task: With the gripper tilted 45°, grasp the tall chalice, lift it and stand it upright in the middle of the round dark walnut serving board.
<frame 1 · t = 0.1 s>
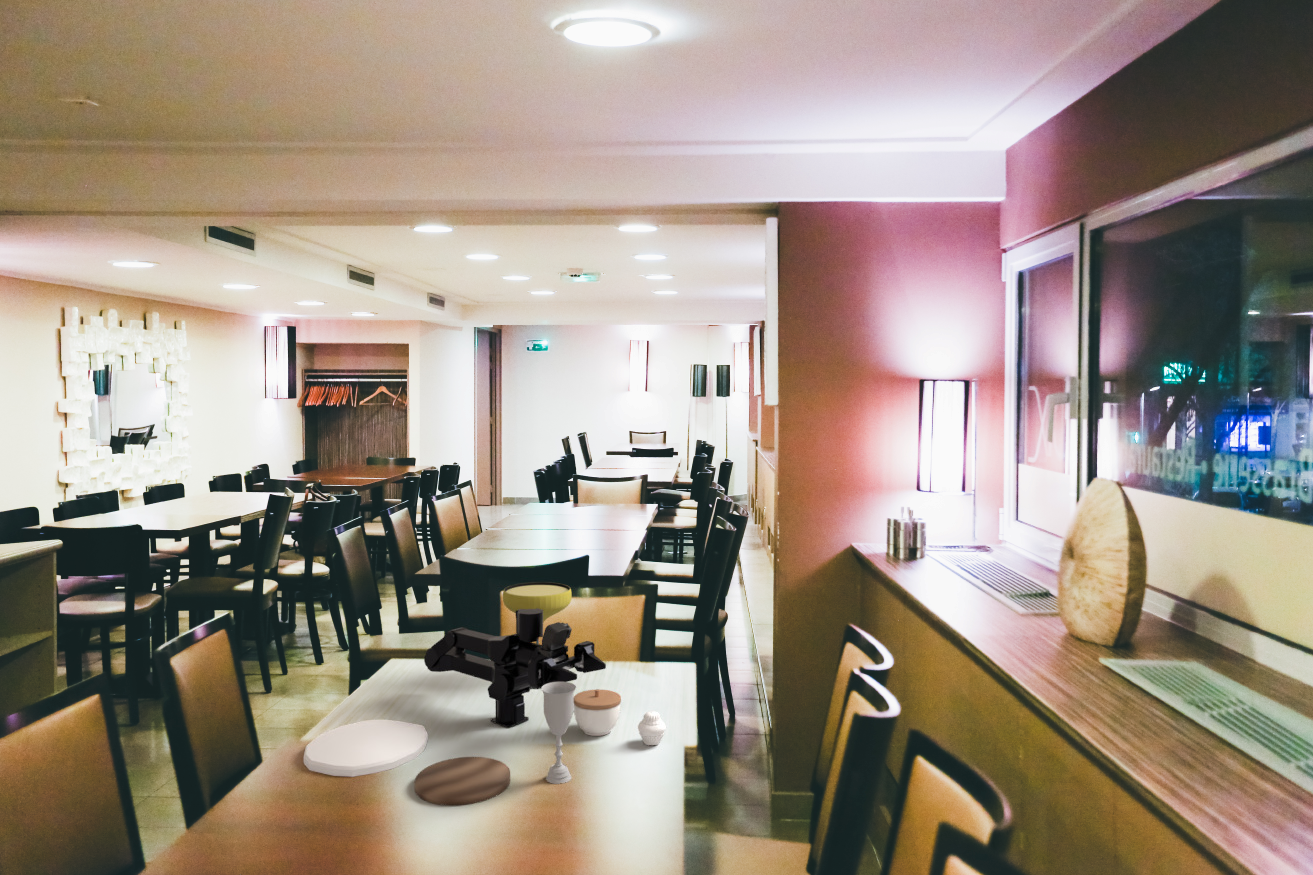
hand: (591, 671, 179), 17 cm above the table, tool horizontal, fingers open, 9 cm apart
chalice: (558, 778, 165), on the table
muffin: (651, 743, 182), on the table
lidded jar: (597, 731, 189), on the table
serving board: (463, 783, 162), on the table
decorative plate: (365, 752, 178), on the table
cocktail glass: (537, 682, 223), on the table
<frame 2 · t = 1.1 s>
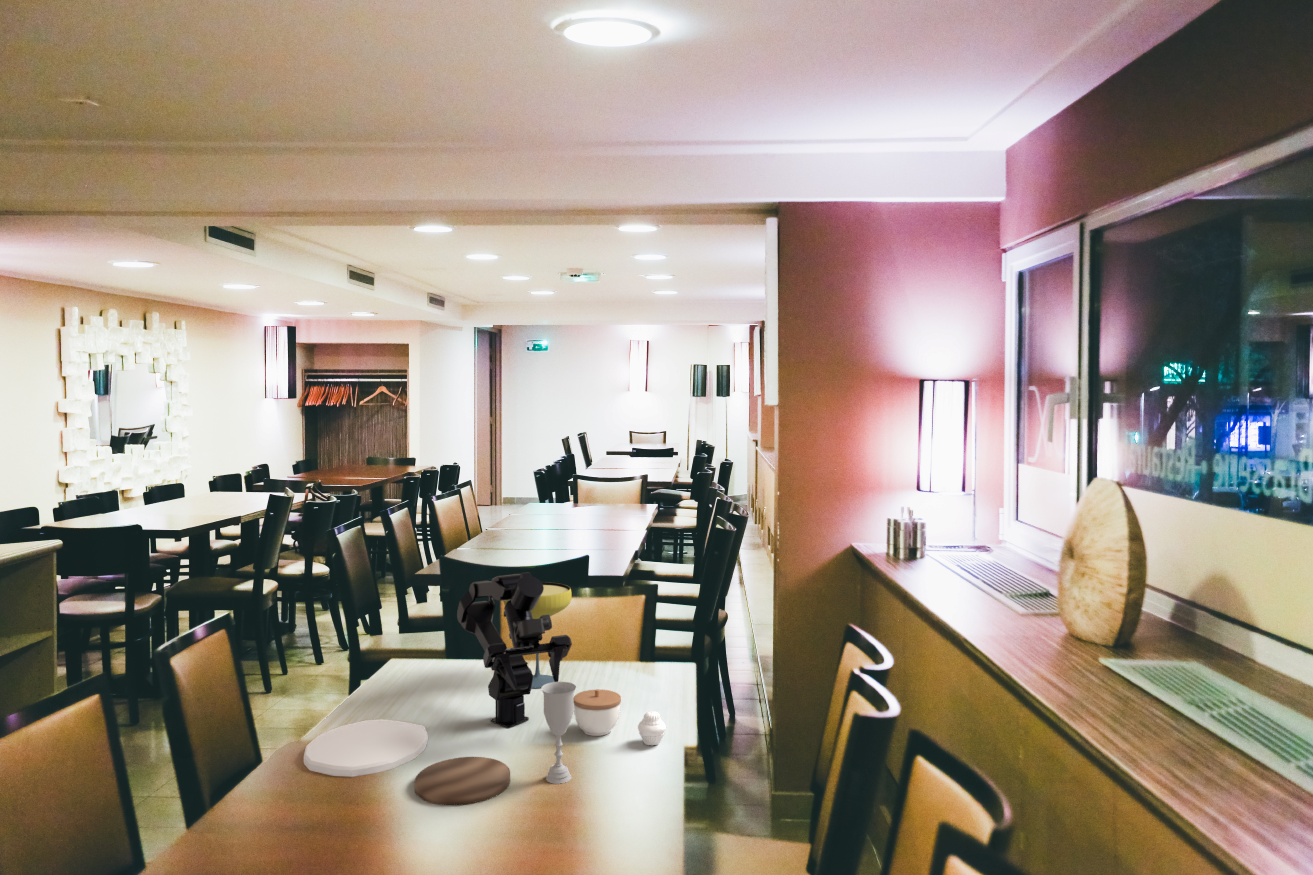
hand: (536, 685, 178), 14 cm above the table, tool tilted 45°, fingers open, 9 cm apart
nothing on the table moved.
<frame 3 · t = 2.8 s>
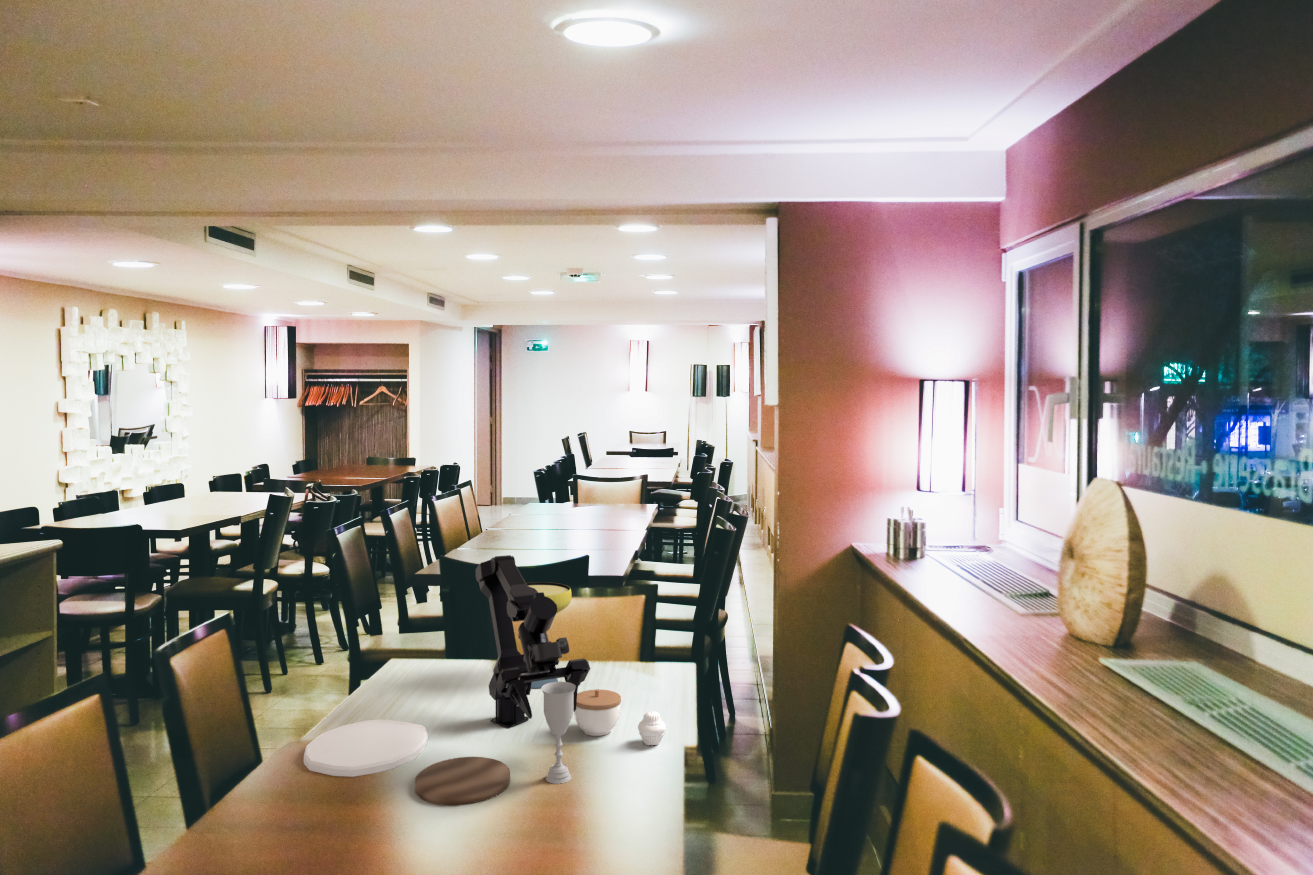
hand: (553, 713, 167), 12 cm above the table, tool tilted 45°, fingers open, 9 cm apart
nothing on the table moved.
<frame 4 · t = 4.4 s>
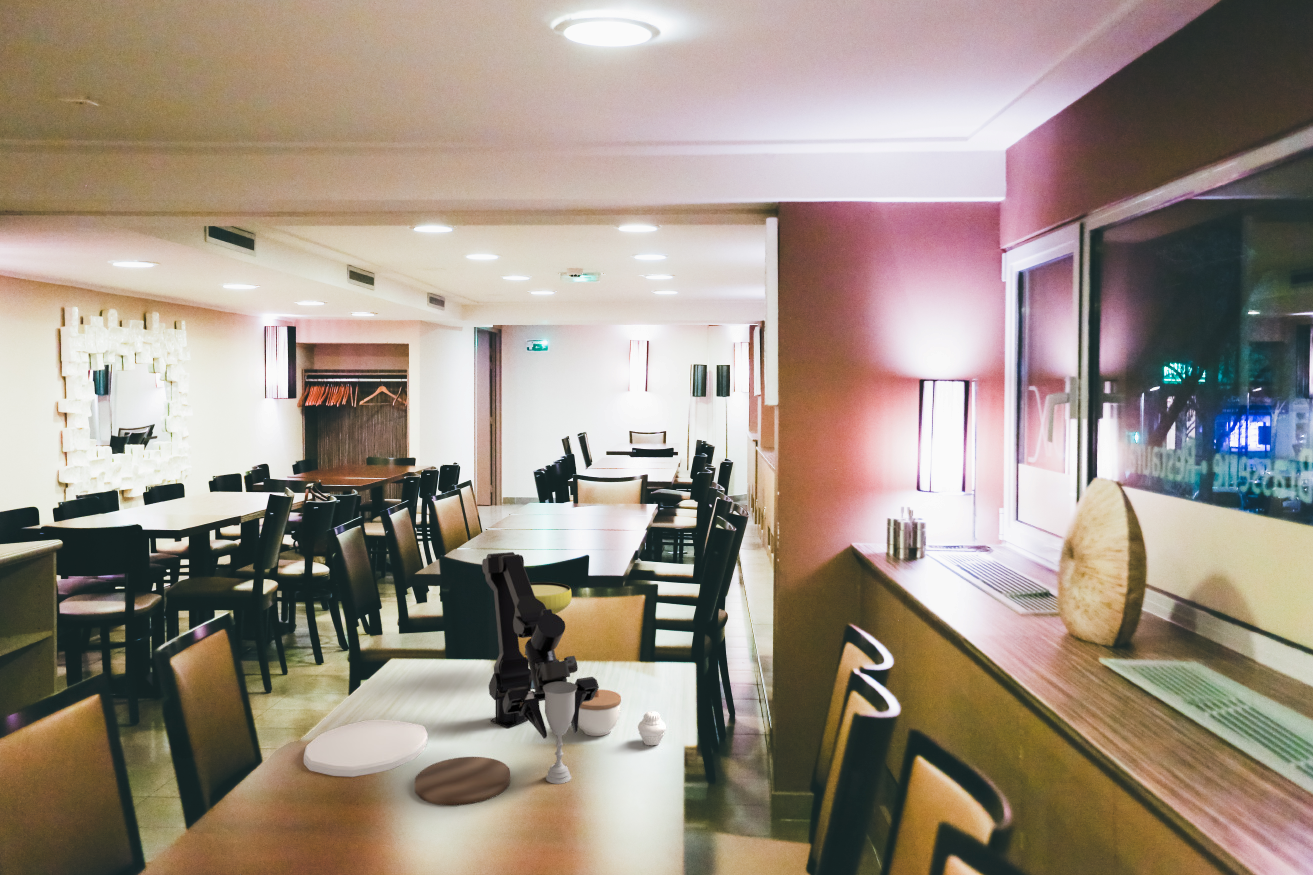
hand: (561, 734, 163), 9 cm above the table, tool tilted 45°, fingers closed on chalice, 6 cm apart
chalice: (558, 778, 165), on the table, touching gripper
everything else where it was.
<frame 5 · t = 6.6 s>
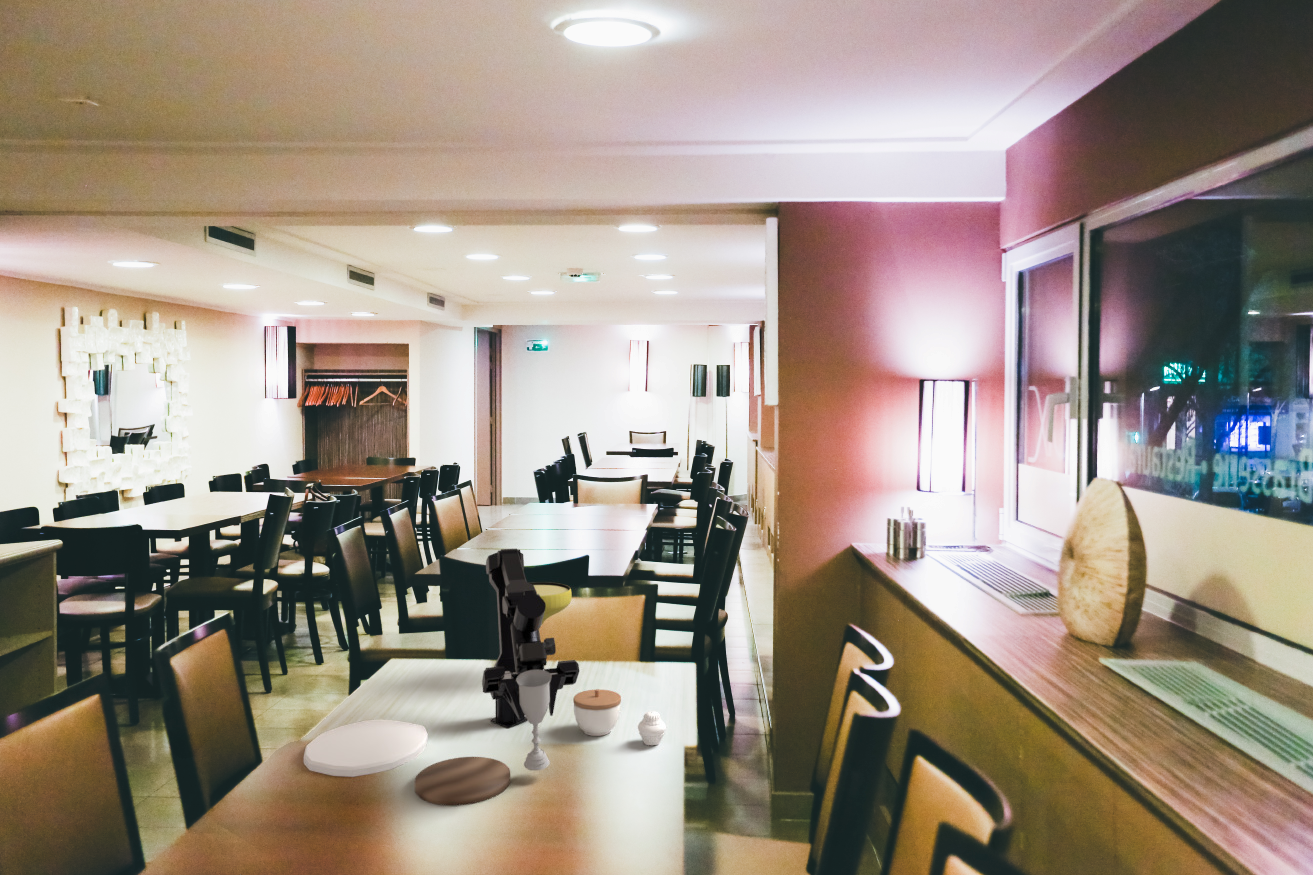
hand: (536, 716, 161), 13 cm above the table, tool tilted 45°, fingers closed on chalice, 6 cm apart
chalice: (536, 764, 165), point 3 cm above the table, touching gripper
everything else where it was.
when the fingers open (12 cm above the table, at t = 9.1 s): chalice stays where it is, resting on serving board.
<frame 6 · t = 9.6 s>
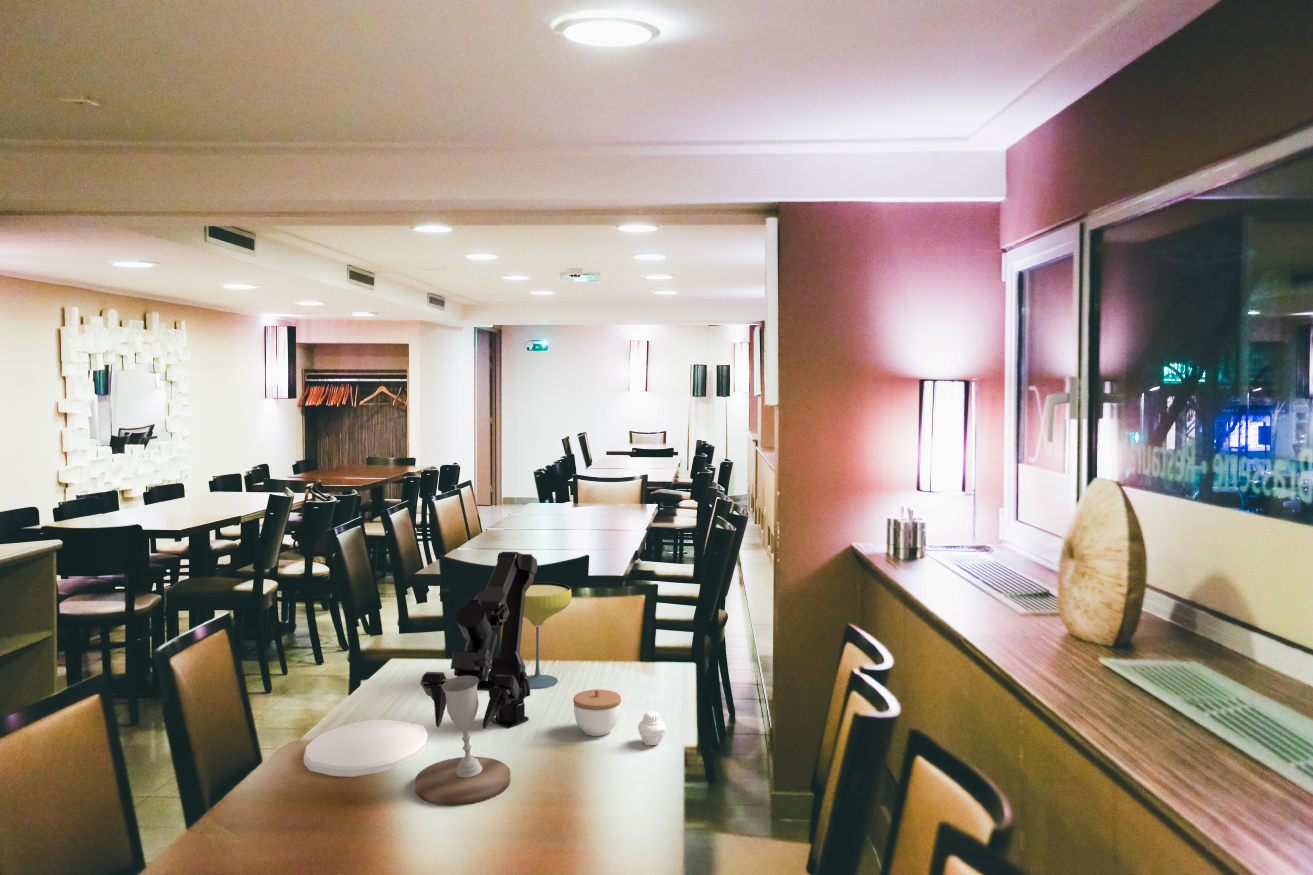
hand: (460, 727, 160), 12 cm above the table, tool tilted 45°, fingers open, 9 cm apart
chalice: (469, 771, 164), point 2 cm above the table, touching gripper, serving board
everything else where it was.
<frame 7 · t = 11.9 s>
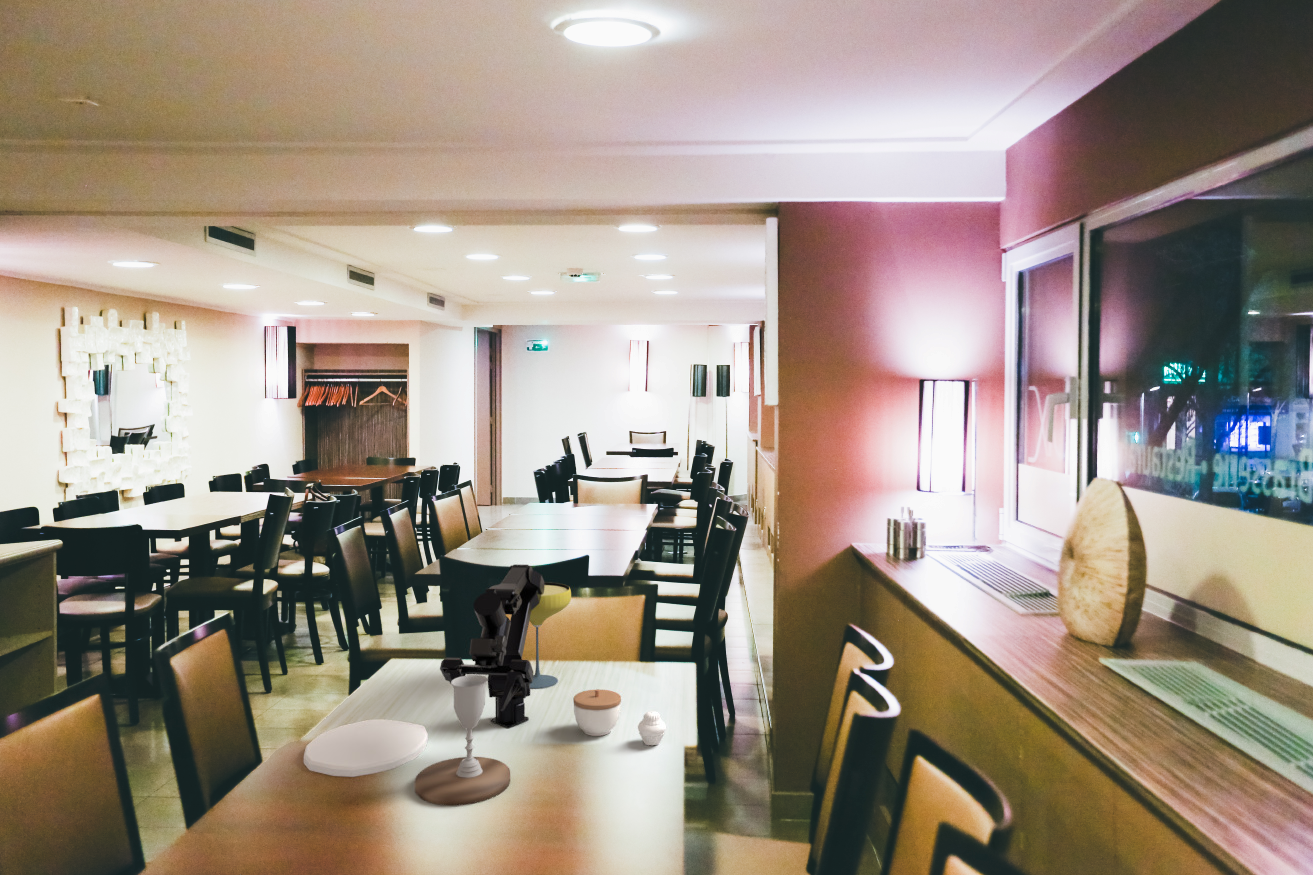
hand: (479, 709, 170), 12 cm above the table, tool tilted 45°, fingers open, 9 cm apart
chalice: (469, 772, 164), point 1 cm above the table, touching serving board
cocktail glass: (537, 682, 223), on the table, touching arm
everything else where it was.
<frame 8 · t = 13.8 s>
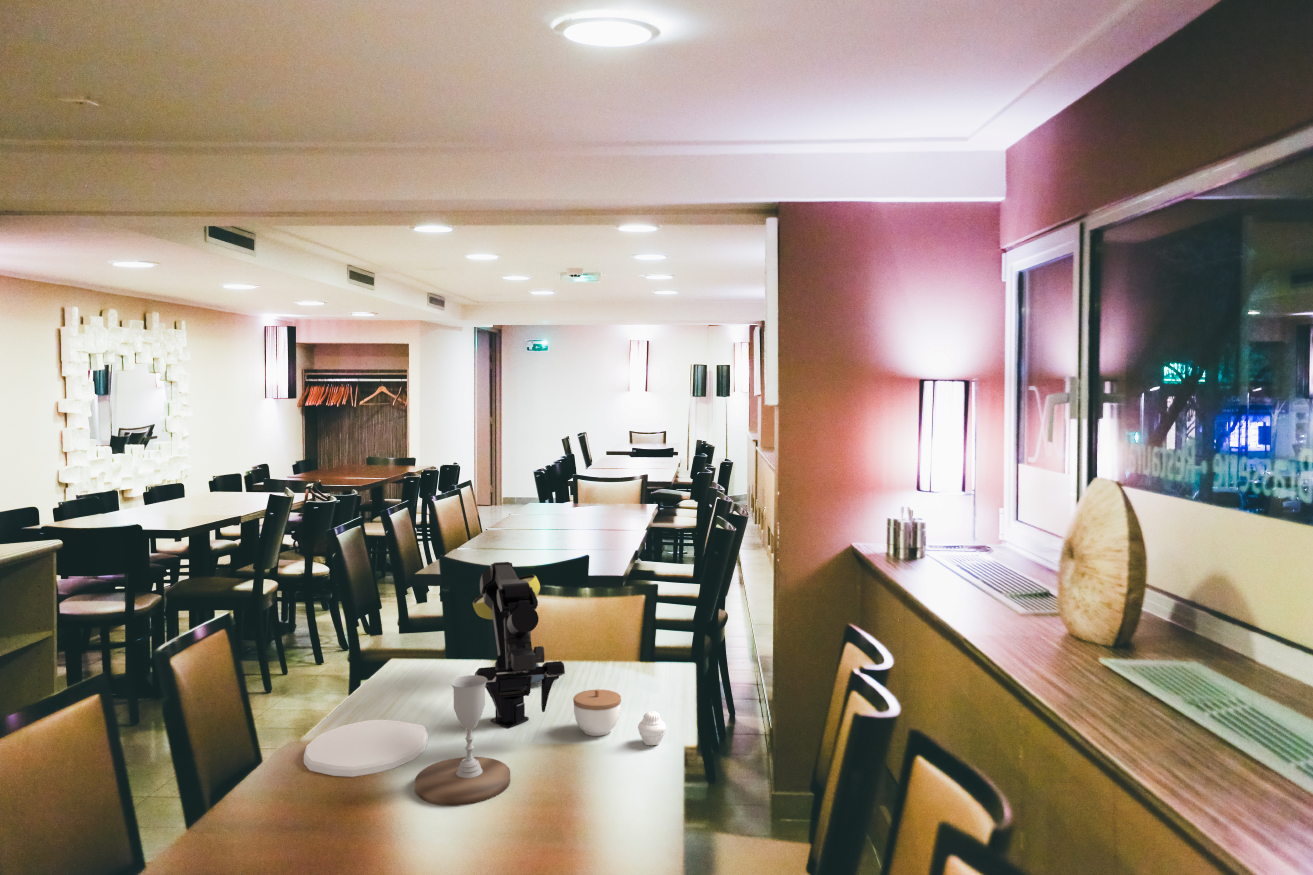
hand: (522, 714, 178), 8 cm above the table, tool tilted 25°, fingers open, 9 cm apart
cocktail glass: (540, 675, 223), point 2 cm above the table, touching arm
everything else where it was.
at the end: chalice inside the target area on the serving board (1.9 cm from its centre), point 1.3 cm above the serving board's base; chalice tilted 0°; the gripper is holding nothing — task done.
